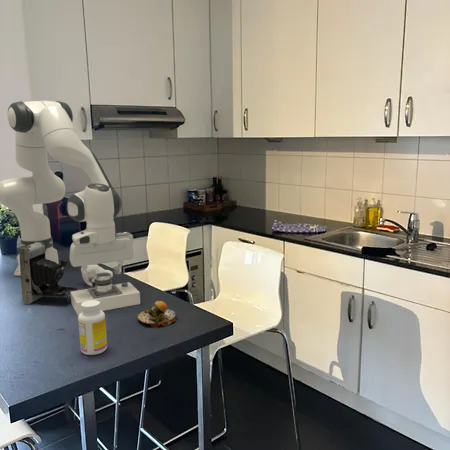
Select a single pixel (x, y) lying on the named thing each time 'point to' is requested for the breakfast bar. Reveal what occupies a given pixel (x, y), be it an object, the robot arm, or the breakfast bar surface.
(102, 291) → the lens
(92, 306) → the supplement bottle
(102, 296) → the camera body
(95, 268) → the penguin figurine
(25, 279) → the vintage camera
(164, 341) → the breakfast bar surface
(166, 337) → the breakfast bar surface
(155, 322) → the burger
